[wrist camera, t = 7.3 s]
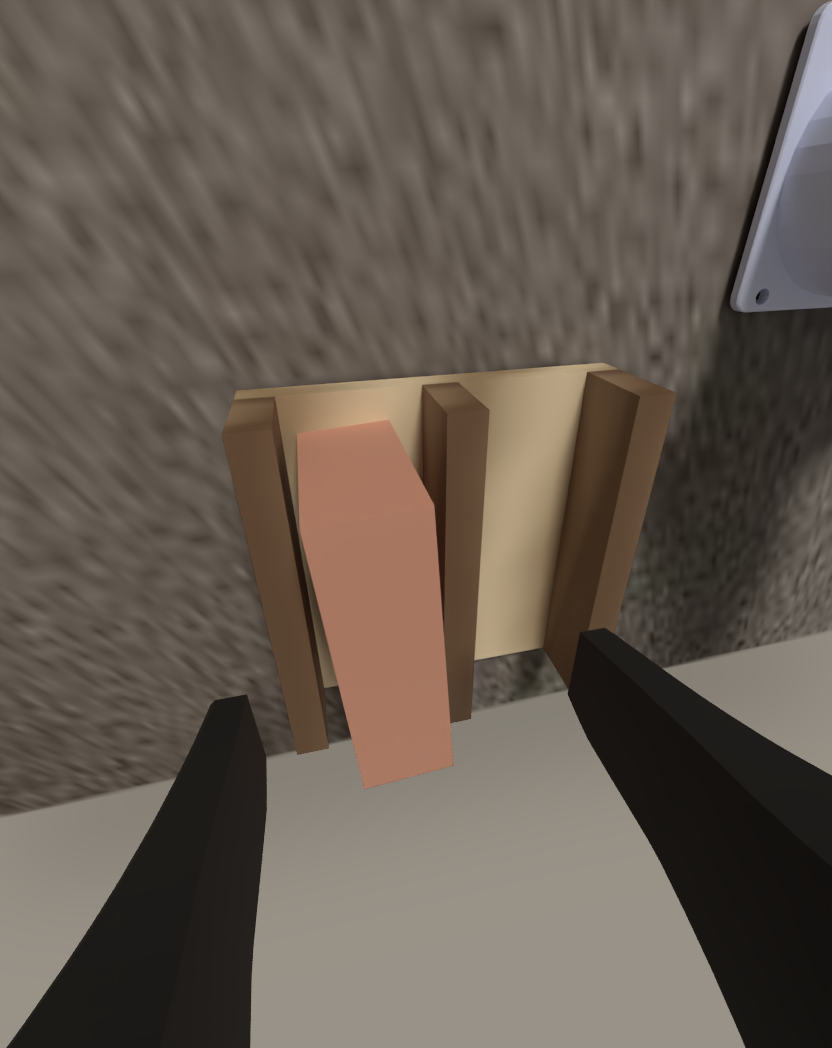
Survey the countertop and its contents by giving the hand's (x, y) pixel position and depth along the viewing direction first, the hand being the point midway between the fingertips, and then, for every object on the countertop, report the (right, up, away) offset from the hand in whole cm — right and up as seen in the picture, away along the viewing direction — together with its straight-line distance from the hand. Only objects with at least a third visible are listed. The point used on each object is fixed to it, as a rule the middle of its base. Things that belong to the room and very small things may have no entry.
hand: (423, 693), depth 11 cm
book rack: (+1, +3, +9) cm, 10 cm away
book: (-2, +3, +8) cm, 9 cm away
